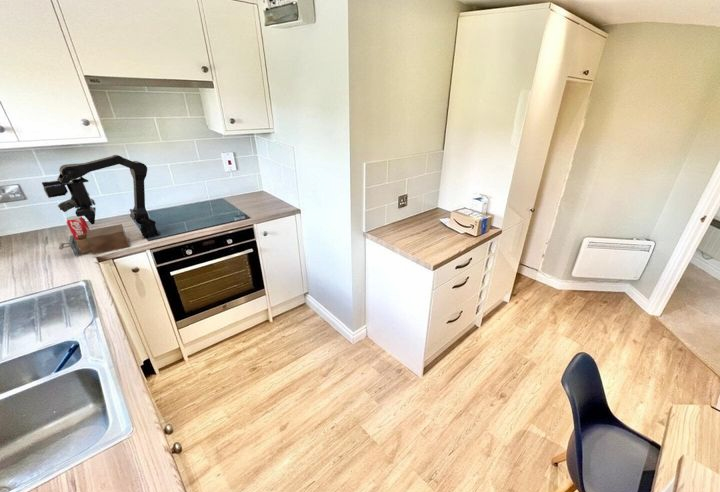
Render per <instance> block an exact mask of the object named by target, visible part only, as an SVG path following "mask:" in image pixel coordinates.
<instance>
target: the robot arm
mask: <svg viewBox="0 0 720 492" xmlns="http://www.w3.org/2000/svg"><path fill="white" fill-rule="evenodd" d="M117 165H121V166H123V167H126V168H129V171H130V175H131V177H132V181H133V203H134V205H133V208H130V209H129V212H130V214H129V217H131V219H132V221H134V222H135V223H136V224H138V225H139V226H140V228H139V231H140V233H141V235H142V237H143V238H144V239H148V238H152V237H158V236H159V235H160V234H159V232H158V229H157V225H156V221H155V220H154V219H152V218H151V217H149V213H148V210H147V209H146V193H145V179H146V178H147V174H148V166H147V164H145V163H143V162H140V161H139V160H130V159H128V158H124V157H122V156H121V155H119V154H113V155H110V156H107V157H103V158H99V159H94V160H91V161H86V162H82V163H68V164H67V163H65V164H62V165H60V167H59V171H58V172H59V174H58V177H57V179H56V180H51V181H42V182H41V185H42V187H43V191H44V193H45V195H46V196H47V198H48V199H51V198H56V197H63V196H66V195H67V194H68V193H70V195H71V197H70V198H69V199H67V200H64V201H62V202H61V203H58V205H57V208H59V210H60V211H62V212H63V213H66V212H68V211H69V210H71V209H74V208H75V212H74V214H75V216H77V217H80V216H82V217H85V218H86V221H88V222H89V223H90V224H91V225H95V224H96V207H95V205H96V201H95V199H93V198H91V197H90V193H89V192H88V190H87V188H86V186H85V183H88V182H90V181H89V179H87V178H84V177H83V176H85V175H87V174H89V173H91V172H95V171H99V170H102V169H106V168H109V167H114V166H117ZM68 191H69V192H68ZM93 206H94V207H93Z"/></svg>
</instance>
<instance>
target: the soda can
mask: <svg viewBox="0 0 720 492" xmlns="http://www.w3.org/2000/svg"><path fill="white" fill-rule="evenodd" d="M66 225H67V227H68V229H69V231H70V233H71V235H74V237H75V239H76V241H79V239H78V237H77V235H81V234H86V233H87V230H91V229H90V228H89V225H88V223H87V220H86V219H85V218H84V217H83V216H80V217H77V215H72V216H69V217H67V218H66Z"/></svg>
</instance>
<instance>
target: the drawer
mask: <svg viewBox="0 0 720 492" xmlns="http://www.w3.org/2000/svg"><path fill="white" fill-rule="evenodd" d="M77 237H78V239H79V240H76V239H75V237H74V235H72V234H71V235H69V240H68V242H60V243H59V245H58V249H59V251H60V250H63V249H66V248H70V249H71V250H72V251H71V252H72V253H73V255H74V256H75V257H77V256H79V255H80V252H81V254H86V253H91V252H93V251H92V249H91V247H90V245H89V243H88V241H87V239H86V237H87V233H86V234H81V235H77Z"/></svg>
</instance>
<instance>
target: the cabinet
mask: <svg viewBox="0 0 720 492" xmlns="http://www.w3.org/2000/svg"><path fill="white" fill-rule="evenodd" d="M86 239H87V241H88V243H89V245H90V247H91V249H92V251H91V252H92V253H93V255H97V254H101V253H106V252H110V251H111V252H112V251H116V250H122V249H124V248H130V243H129V239H128V236H127V233H126V231H125V228H124V226H123V224H122V223H121V224H115V225H109V226H103V227H98V228H92V229H90V230H87V237H86Z"/></svg>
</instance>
